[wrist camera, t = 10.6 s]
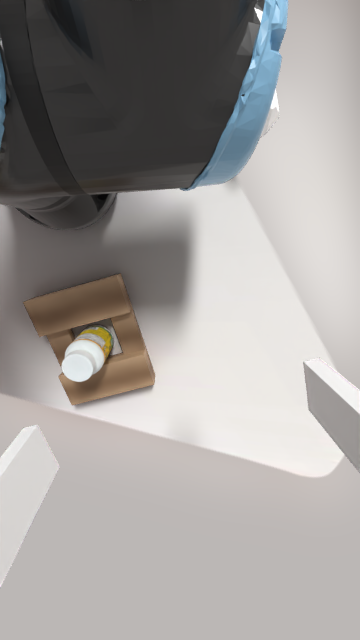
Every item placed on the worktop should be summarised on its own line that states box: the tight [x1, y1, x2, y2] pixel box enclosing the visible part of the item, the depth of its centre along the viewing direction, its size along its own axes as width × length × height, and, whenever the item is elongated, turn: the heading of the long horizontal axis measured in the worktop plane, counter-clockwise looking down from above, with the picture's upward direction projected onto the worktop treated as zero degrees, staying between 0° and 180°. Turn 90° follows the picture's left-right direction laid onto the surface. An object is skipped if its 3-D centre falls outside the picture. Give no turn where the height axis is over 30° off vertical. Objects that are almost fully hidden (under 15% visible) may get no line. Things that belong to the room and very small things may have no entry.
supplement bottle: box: [62, 325, 114, 382], centre depth 37 cm, size 5×5×10 cm
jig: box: [23, 273, 155, 405], centre depth 40 cm, size 18×14×3 cm
